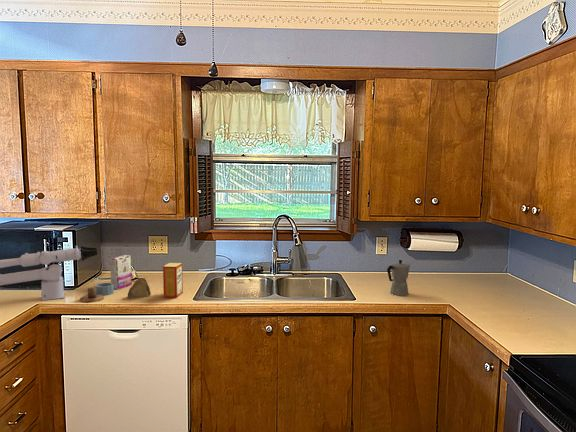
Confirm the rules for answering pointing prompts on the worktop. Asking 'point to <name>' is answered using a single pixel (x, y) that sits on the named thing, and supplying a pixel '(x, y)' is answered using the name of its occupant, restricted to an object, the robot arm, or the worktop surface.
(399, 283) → the coffeepot
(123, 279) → the candy bar box
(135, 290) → the rock
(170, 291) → the baking soda box
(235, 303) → the worktop surface
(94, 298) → the walnut lid
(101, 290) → the slate bowl
